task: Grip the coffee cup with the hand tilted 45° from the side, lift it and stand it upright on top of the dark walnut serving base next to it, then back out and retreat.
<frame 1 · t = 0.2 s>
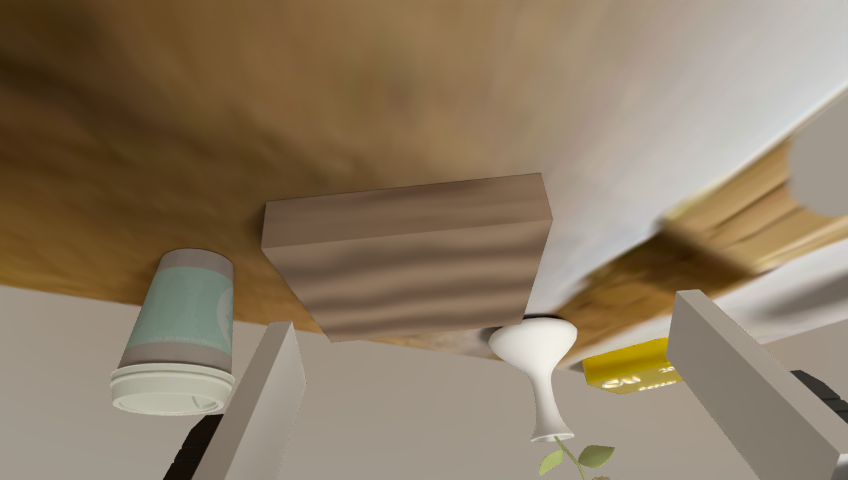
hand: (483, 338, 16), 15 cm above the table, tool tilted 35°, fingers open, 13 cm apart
coffee cup: (199, 262, 41), on the table
flower in vase: (535, 323, 61), on the table
element tile: (636, 353, 78), on the table
walnut base: (414, 254, 42), on the table
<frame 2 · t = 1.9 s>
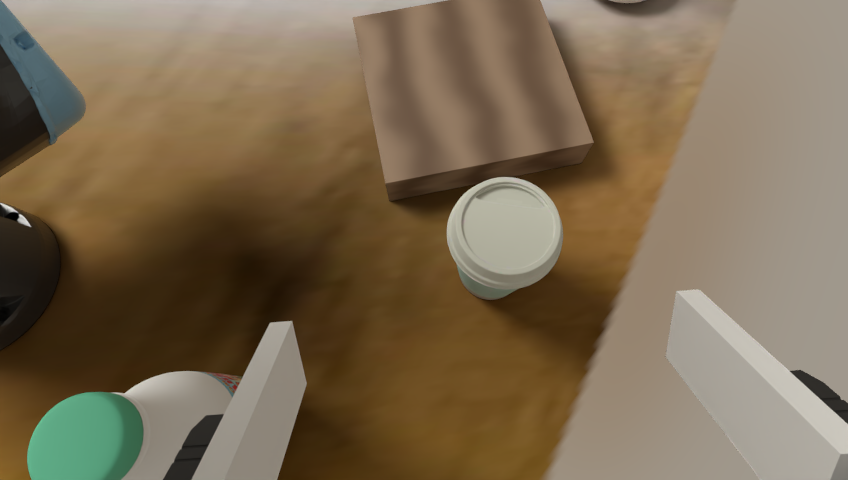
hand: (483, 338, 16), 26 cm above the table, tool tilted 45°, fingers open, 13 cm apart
coffee cup: (489, 270, 44), on the table
milk bottle: (245, 424, 40), on the table
walnut base: (463, 100, 50), on the table
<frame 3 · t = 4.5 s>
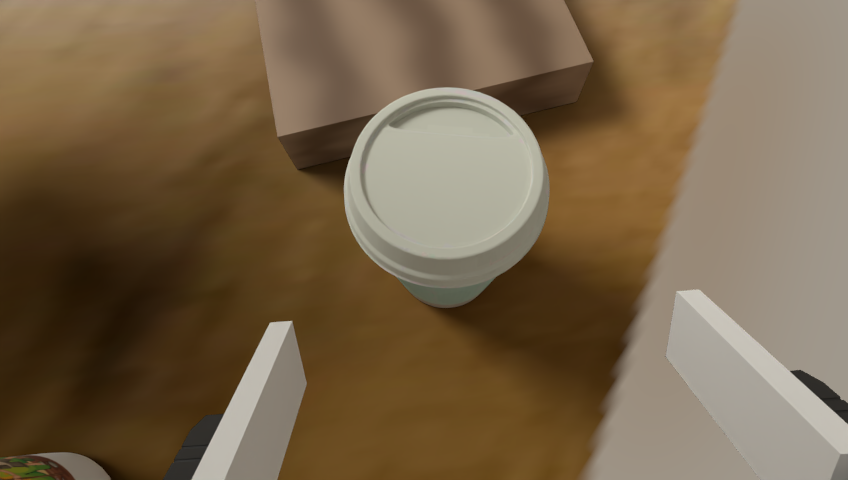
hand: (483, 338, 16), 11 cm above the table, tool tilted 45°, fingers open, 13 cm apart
coffee cup: (445, 263, 29), on the table
walnut base: (405, 27, 36), on the table
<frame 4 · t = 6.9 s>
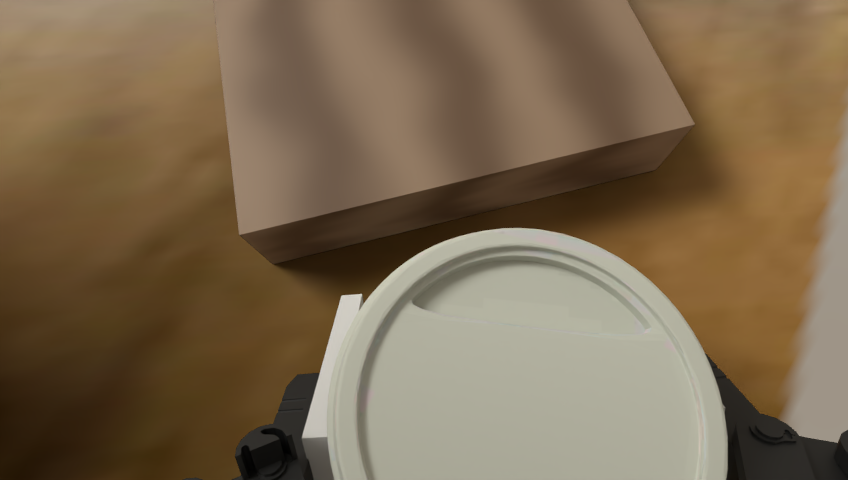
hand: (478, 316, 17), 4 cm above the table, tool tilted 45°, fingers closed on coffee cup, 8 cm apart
coffee cup: (480, 411, 20), on the table, touching gripper
walnut base: (420, 63, 27), on the table
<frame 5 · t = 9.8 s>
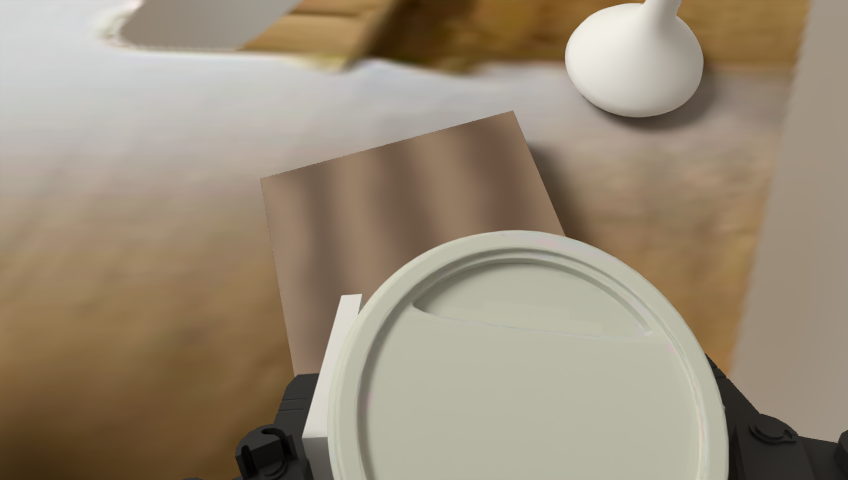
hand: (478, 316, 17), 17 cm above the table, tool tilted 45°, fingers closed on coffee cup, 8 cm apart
coffee cup: (480, 412, 20), point 13 cm above the table, touching gripper
flower in vase: (618, 69, 42), on the table
walnut base: (426, 279, 36), on the table
when the fingers open (10 cm above the table, at t = 12.8 s): coffee cup drops 1 cm, resting on walnut base.
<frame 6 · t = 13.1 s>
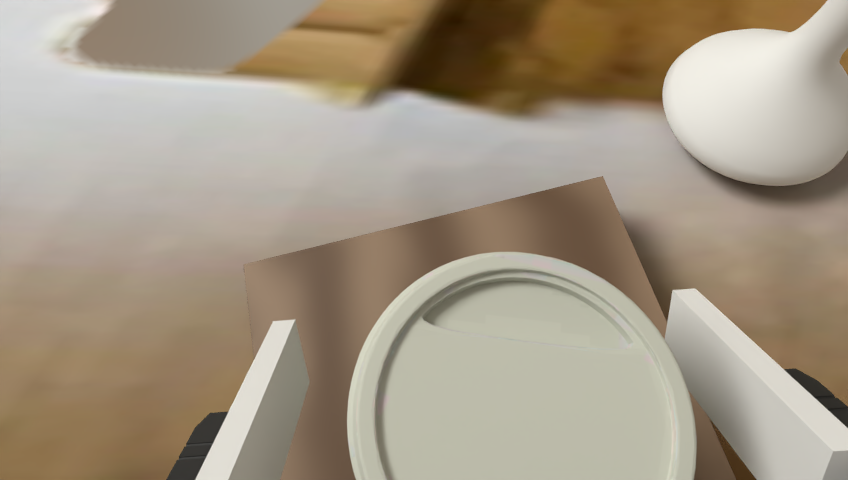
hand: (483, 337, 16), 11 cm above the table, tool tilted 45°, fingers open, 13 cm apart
coffee cup: (482, 412, 22), point 4 cm above the table, touching walnut base
flower in vase: (729, 114, 31), on the table
walnut base: (473, 411, 25), on the table
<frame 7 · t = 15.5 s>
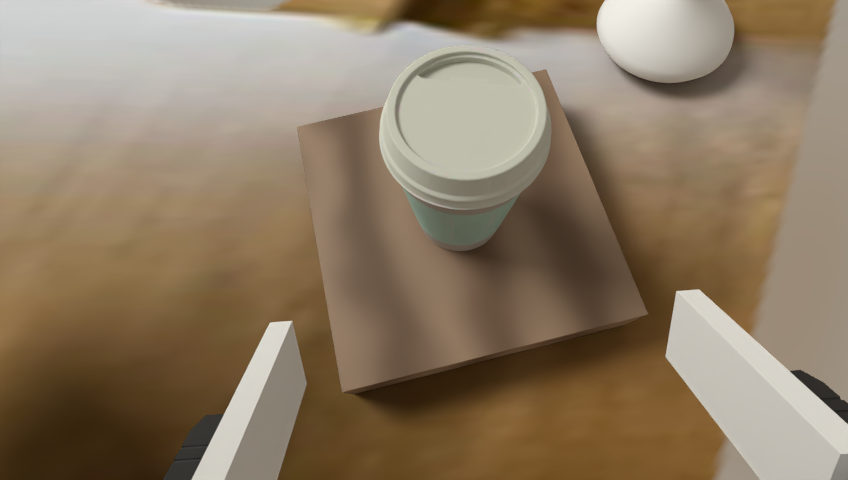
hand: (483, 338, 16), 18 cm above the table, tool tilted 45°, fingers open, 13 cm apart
coffee cup: (458, 213, 33), point 4 cm above the table, touching walnut base
flower in vase: (648, 37, 42), on the table
walnut base: (455, 232, 36), on the table
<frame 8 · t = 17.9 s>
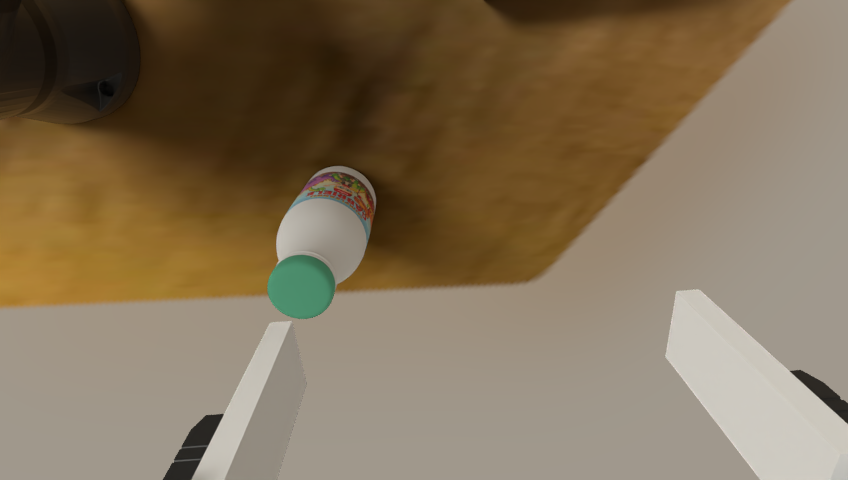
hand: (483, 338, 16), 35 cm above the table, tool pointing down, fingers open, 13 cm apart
milk bottle: (341, 198, 51), on the table
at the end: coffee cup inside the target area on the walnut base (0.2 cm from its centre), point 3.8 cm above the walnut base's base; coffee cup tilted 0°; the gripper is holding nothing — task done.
